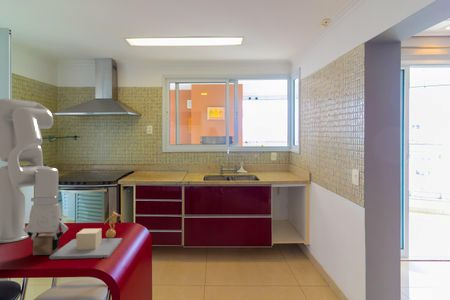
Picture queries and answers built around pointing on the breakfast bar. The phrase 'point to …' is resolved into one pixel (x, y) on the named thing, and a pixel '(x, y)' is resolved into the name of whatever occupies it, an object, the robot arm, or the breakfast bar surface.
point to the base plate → (87, 253)
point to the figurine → (111, 232)
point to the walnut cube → (43, 244)
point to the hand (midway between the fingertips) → (45, 248)
